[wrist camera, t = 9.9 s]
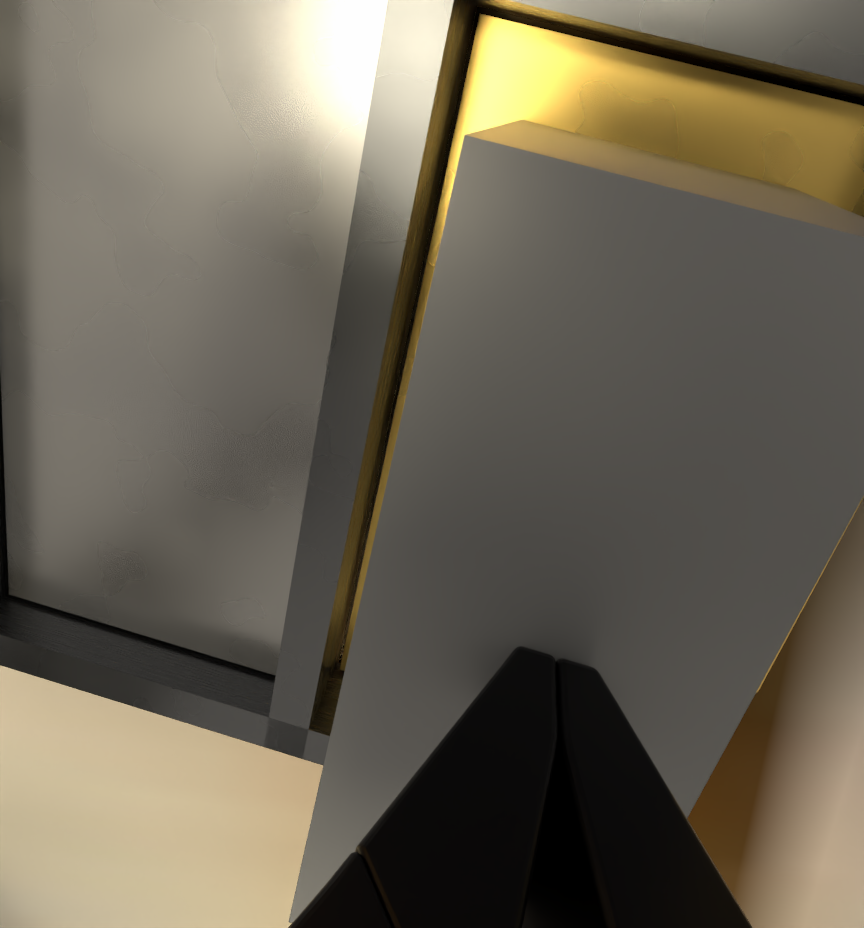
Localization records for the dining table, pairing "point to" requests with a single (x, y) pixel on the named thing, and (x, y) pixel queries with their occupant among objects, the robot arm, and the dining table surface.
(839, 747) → the dining table surface
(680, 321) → the panel
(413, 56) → the grey shallow square tray
